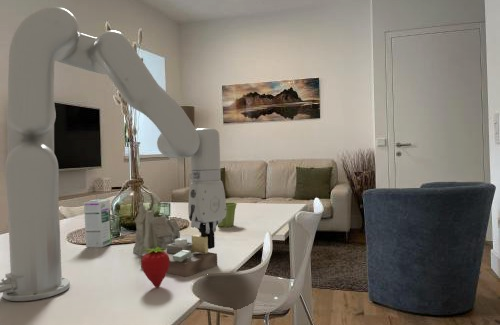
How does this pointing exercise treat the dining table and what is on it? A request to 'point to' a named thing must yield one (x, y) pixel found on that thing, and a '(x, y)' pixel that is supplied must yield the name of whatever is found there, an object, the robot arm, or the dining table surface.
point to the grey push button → (180, 242)
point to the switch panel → (188, 260)
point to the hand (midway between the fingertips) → (207, 247)
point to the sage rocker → (182, 255)
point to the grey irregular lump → (153, 231)
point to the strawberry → (155, 265)
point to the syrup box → (97, 223)
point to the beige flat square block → (199, 244)
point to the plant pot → (228, 215)
